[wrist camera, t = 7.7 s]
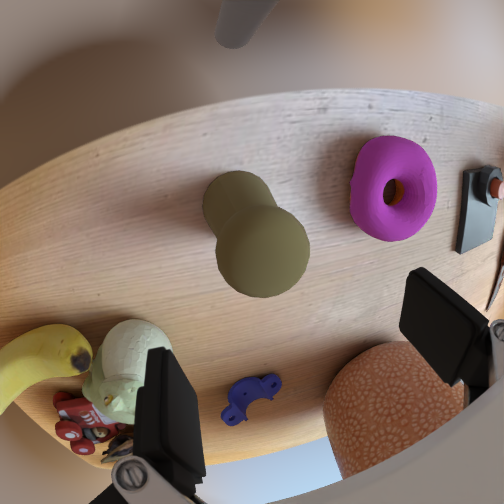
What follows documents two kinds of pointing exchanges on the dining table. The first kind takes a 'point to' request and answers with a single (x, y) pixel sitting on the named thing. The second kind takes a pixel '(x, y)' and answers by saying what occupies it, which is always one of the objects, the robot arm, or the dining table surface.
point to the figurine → (122, 368)
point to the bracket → (248, 396)
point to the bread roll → (119, 447)
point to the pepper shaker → (254, 236)
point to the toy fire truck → (83, 423)
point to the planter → (385, 405)
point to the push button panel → (477, 208)
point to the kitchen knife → (498, 281)
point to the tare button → (497, 189)
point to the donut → (407, 188)
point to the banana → (41, 359)
